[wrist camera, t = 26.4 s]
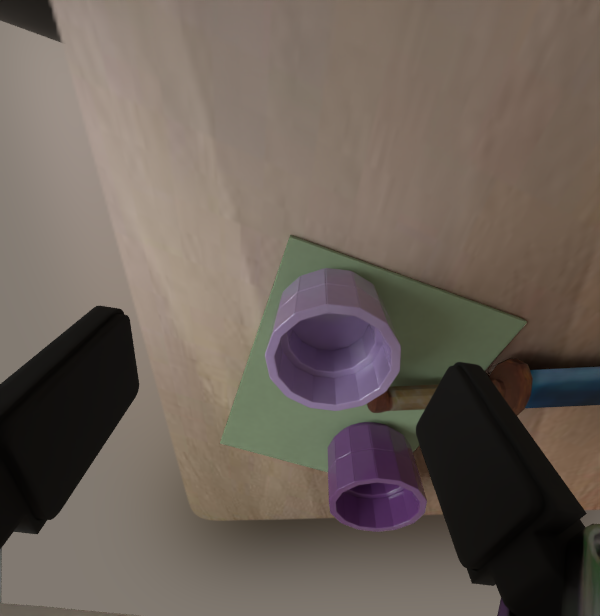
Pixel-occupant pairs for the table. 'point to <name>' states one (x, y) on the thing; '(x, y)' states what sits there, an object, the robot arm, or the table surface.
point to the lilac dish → (332, 341)
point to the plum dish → (374, 478)
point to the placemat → (413, 371)
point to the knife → (510, 389)
